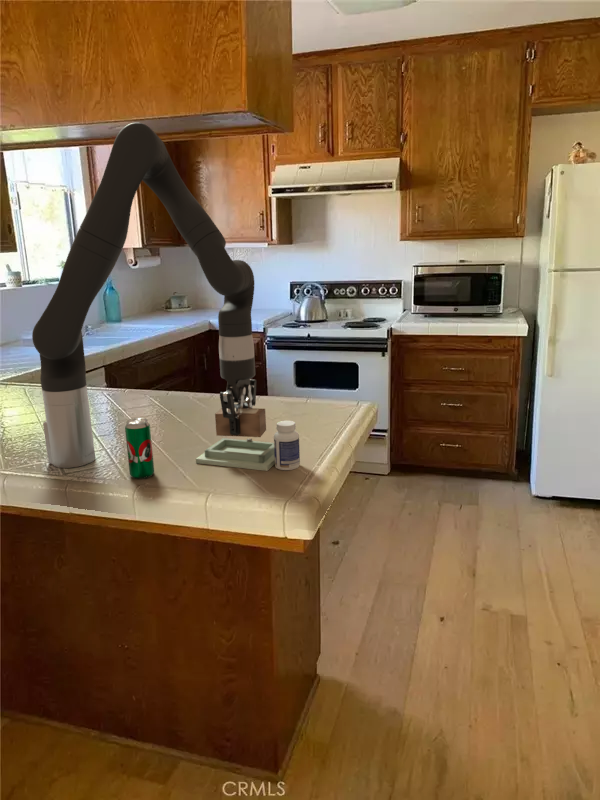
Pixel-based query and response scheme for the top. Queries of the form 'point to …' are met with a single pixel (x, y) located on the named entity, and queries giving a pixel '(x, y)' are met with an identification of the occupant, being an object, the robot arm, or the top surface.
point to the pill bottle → (286, 446)
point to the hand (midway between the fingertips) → (241, 430)
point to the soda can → (139, 448)
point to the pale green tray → (240, 454)
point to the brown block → (243, 423)
